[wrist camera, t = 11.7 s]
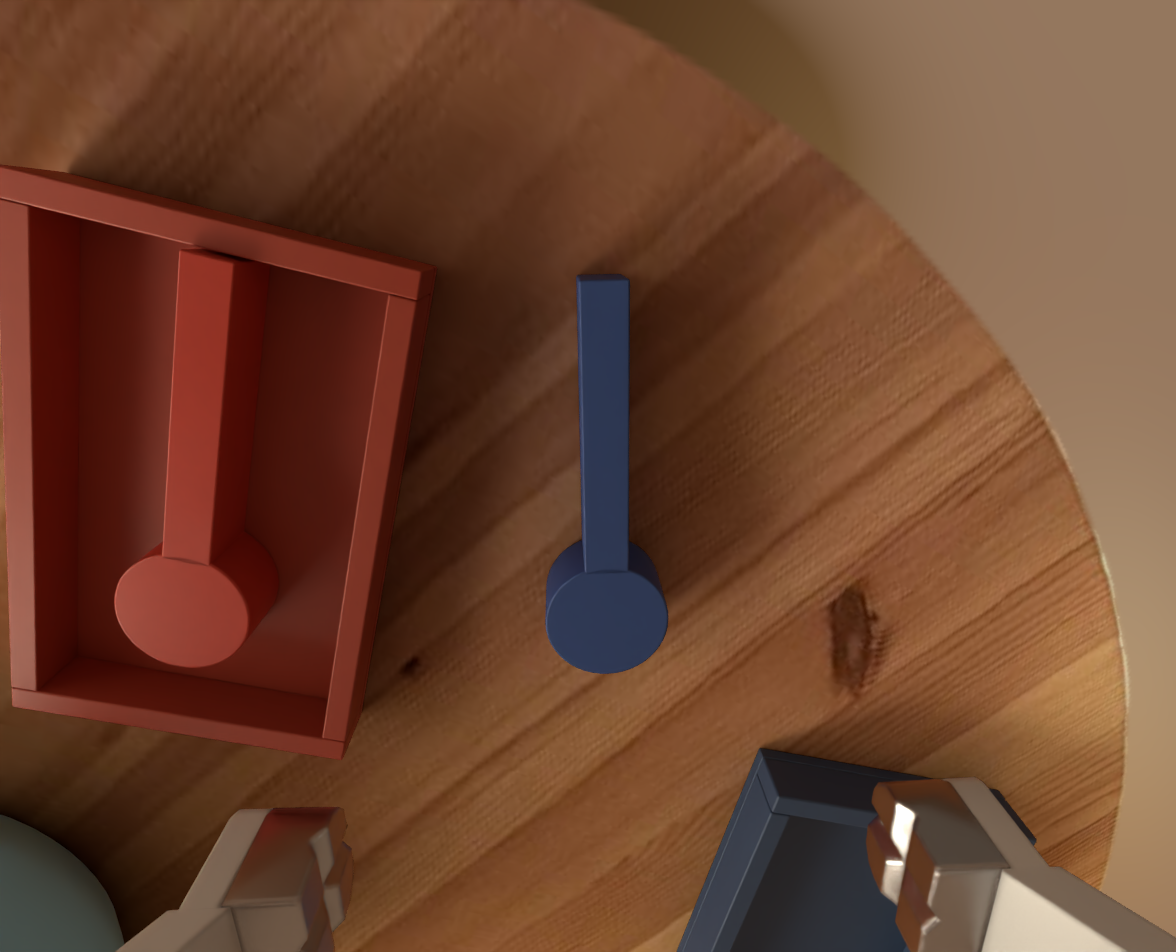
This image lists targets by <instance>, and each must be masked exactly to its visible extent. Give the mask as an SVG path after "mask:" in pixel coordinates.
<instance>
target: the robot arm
mask: <svg viewBox="0 0 1176 952" xmlns="http://www.w3.org/2000/svg"><path fill="white" fill-rule="evenodd" d="M872 804H873V806H874V808H875V810H876V811H877V813H878V815H877V816H876V817H875V818H874V819H873V820H872V821H871V822H870V823H869V824H868V828H867V837H866V847H867V854H868V862H869V865H870V868H871V871H872V874H873V877H874V879H875V881H876V883H877V886H878V888H879V890H880V892H881V893H882V894H883V895H884V896H886V897H887V898H888V899H889V900H891V901H892V902H893V903H894V904H896V905H897V906H898V907H897V913H896V918H895V923H896V925H897V927H898V929H899V931H900V933H901V935H902V937H903V939H904V941H905V943H906V945H907V947H908V949H909V951H910V952H1176V938H1175V937H1173V936H1172V935H1170V934H1169V933H1167V932H1166V931H1164V930H1162V929H1161V928H1159V927H1157V926H1156V925H1154V924H1153V923H1151V922H1149V921H1148V920H1146V919H1144V918H1143V917H1141V916H1140V915H1138V914H1136V913H1135V912H1133V911H1131V910H1130V909H1128V908H1126V907H1125V906H1123V905H1121V904H1120V903H1118V902H1117V901H1115V900H1113V899H1112V898H1110V897H1108V896H1107V895H1105V894H1104V893H1102V892H1100V891H1099V890H1097V889H1096V888H1094V887H1092V886H1091V885H1089V884H1087V883H1086V882H1084V881H1083V880H1081V879H1079V878H1078V877H1076V876H1074V875H1073V874H1071V873H1069V872H1068V871H1066V870H1065V869H1063V868H1061V867H1049V865H1048V864H1047V863H1046V861H1045V860H1044V859H1043V858H1042V856H1041V855H1040V854H1039V852H1038V851H1037V850H1036V849H1035V847H1034V846H1033V845H1032V844H1031V842H1030V841H1029V840H1028V838H1027V837H1026V836H1025V835H1024V833H1023V832H1022V831H1021V830H1020V828H1019V827H1018V826H1017V824H1016V823H1015V822H1014V821H1013V819H1012V818H1011V817H1010V815H1009V814H1008V813H1007V812H1006V810H1005V809H1004V808H1003V807H1002V805H1001V804H1000V803H999V801H998V800H997V799H996V798H995V796H994V795H993V794H992V793H991V791H990V790H989V789H988V787H987V786H986V785H985V784H984V783H983V782H982V781H981V780H979V779H978V778H976V777H964V778H946V779H942V780H940V779H929V780H911V781H893V782H878V784H877V785H876V787H875V788H874V791H873V796H872ZM346 829H347V821H346V817H345V812H344V809H343V808H340V807H300V808H273V809H240V810H238V811H237V812H236V813H235V814H234V815H233V816H232V817H231V818H230V819H229V821H228V823H227V824H226V826H225V828H224V830H223V831H222V833H221V835H220V837H219V839H218V840H217V842H216V844H215V846H214V847H213V849H212V851H211V853H210V855H209V856H208V858H207V860H206V862H205V863H204V865H203V867H202V869H201V871H200V872H199V874H198V876H197V878H196V879H195V881H194V883H193V885H192V886H191V888H190V890H189V892H188V894H187V895H186V897H185V899H184V901H183V902H182V904H181V906H180V908H179V910H168V911H166V912H165V913H164V914H162V915H161V916H160V917H159V918H157V919H156V920H155V921H154V922H152V923H151V924H150V925H148V926H147V927H146V928H145V929H143V930H142V931H141V932H140V933H138V934H137V935H136V936H134V937H133V938H132V939H131V940H129V941H128V942H127V943H126V944H124V945H123V946H122V947H120V948H119V949H118V950H117V951H115V952H335V946H334V940H333V935H332V932H333V931H334V930H335V929H336V928H337V927H338V926H339V925H340V924H341V923H342V922H343V921H344V920H345V917H346V914H347V910H348V907H349V904H350V900H351V893H352V886H353V879H354V861H353V855H352V849H351V848H350V847H349V846H348V845H347V844H346V843H345V842H343V841H342V840H343V838H344V835H345V832H346Z"/></svg>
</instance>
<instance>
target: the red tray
mask: <svg viewBox="0 0 1176 952" xmlns="http://www.w3.org/2000/svg"><path fill="white" fill-rule="evenodd" d="M196 248H205V249H209V250H213V251H217V252H221V253H225V254H229V255H233V256H238V257H242V258H246V259H250V260H254V261H258V262H262V263H266V264H270V273H269V284H268V294H267V304H266V314H265V324H264V335H263V345H262V355H261V365H260V375H259V385H258V396H257V406H256V416H255V426H254V436H253V447H252V457H251V467H250V477H249V487H248V498H247V508H246V518H245V528H244V532H246V533H247V534H249V535H250V536H252V537H253V538H255V539H256V540H257V541H258V542H259V543H260V544H261V545H262V546H263V547H264V548H265V549H266V550H267V552H268V553H269V554H270V556H271V558H272V559H273V561H274V564H275V566H276V569H277V573H278V580H279V588H278V594H277V597H276V600H275V602H274V604H273V606H272V607H271V609H270V610H269V611H268V613H267V614H266V615H265V617H264V618H263V619H262V621H261V622H260V623H259V625H258V626H257V627H256V629H255V630H254V631H253V633H252V634H251V635H250V636H249V638H248V639H247V640H246V642H245V643H244V644H243V646H242V647H241V648H240V649H239V650H238V651H237V652H236V653H235V654H234V655H233V656H231V657H230V658H228V659H226V660H224V661H222V662H220V663H217V664H215V665H211V666H207V667H199V668H187V667H179V666H174V665H170V664H167V663H164V662H161V661H159V660H157V659H155V658H153V657H151V656H149V655H148V654H146V653H145V652H143V651H142V650H141V649H139V648H138V647H137V646H136V645H135V644H134V643H133V642H132V641H131V640H130V639H129V638H128V637H127V635H126V634H125V632H124V631H123V630H122V628H121V626H120V624H119V622H118V619H117V616H116V612H115V604H114V599H115V592H116V588H117V585H118V583H119V581H120V578H121V577H122V576H123V574H124V573H125V572H126V571H127V570H128V569H129V568H130V567H131V566H132V565H133V564H134V563H136V562H137V561H138V560H139V559H141V558H142V557H143V556H145V555H146V554H147V553H148V552H150V551H151V550H152V549H153V548H155V547H156V546H157V545H159V544H160V543H161V542H162V541H163V530H164V513H165V495H166V477H167V459H168V441H169V423H170V406H171V388H172V370H173V352H174V334H175V317H176V299H177V281H178V263H179V251H180V249H196ZM436 273H437V267H436V266H433V265H430V264H426V263H422V262H418V261H414V260H410V259H406V258H402V257H398V256H394V255H390V254H386V253H382V252H378V251H374V250H370V249H366V248H362V247H358V246H354V245H350V244H346V243H342V242H338V241H334V240H330V239H327V238H323V237H319V236H315V235H311V234H307V233H303V232H299V231H295V230H291V229H287V228H283V227H279V226H275V225H271V224H267V223H263V222H259V221H255V220H251V219H247V218H243V217H239V216H235V215H231V214H227V213H224V212H220V211H216V210H212V209H208V208H204V207H200V206H196V205H192V204H188V203H184V202H180V201H176V200H172V199H168V198H164V197H160V196H156V195H152V194H148V193H144V192H140V191H136V190H132V189H128V188H124V187H121V186H117V185H113V184H109V183H105V182H101V181H97V180H93V179H89V178H85V177H81V176H77V175H73V174H69V173H65V172H58V171H50V170H41V169H33V168H25V167H16V166H8V165H0V342H1V374H2V407H3V439H4V471H5V503H6V535H7V567H8V599H9V631H10V663H11V686H12V706H13V707H17V708H23V709H29V710H35V711H42V712H48V713H54V714H60V715H66V716H72V717H79V718H85V719H91V720H97V721H103V722H109V723H116V724H122V725H128V726H134V727H140V728H146V729H153V730H159V731H165V732H171V733H177V734H183V735H190V736H196V737H202V738H208V739H214V740H221V741H227V742H233V743H239V744H245V745H251V746H258V747H264V748H270V749H276V750H282V751H288V752H295V753H301V754H307V755H313V756H319V757H325V758H332V759H338V760H342V759H343V758H344V755H345V753H346V750H347V748H348V745H349V743H350V740H351V738H352V735H353V733H354V730H355V728H356V726H357V723H358V720H359V718H360V716H361V713H362V708H363V703H364V697H365V691H366V685H367V679H368V673H369V667H370V661H371V655H372V650H373V644H374V638H375V632H376V626H377V620H378V614H379V608H380V603H381V597H382V591H383V585H384V579H385V573H386V567H387V561H388V556H389V550H390V544H391V538H392V532H393V526H394V520H395V514H396V508H397V503H398V497H399V491H400V485H401V479H402V473H403V467H404V461H405V456H406V450H407V444H408V438H409V432H410V426H411V420H412V414H413V409H414V403H415V397H416V391H417V385H418V379H419V373H420V367H421V362H422V356H423V350H424V344H425V338H426V332H427V326H428V320H429V314H430V309H431V303H432V297H433V291H434V285H435V279H436Z"/></svg>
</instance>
